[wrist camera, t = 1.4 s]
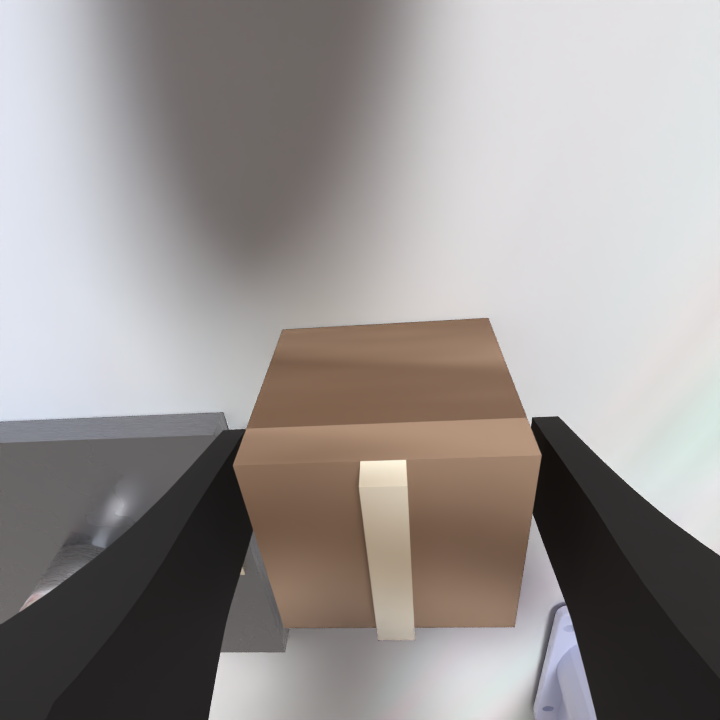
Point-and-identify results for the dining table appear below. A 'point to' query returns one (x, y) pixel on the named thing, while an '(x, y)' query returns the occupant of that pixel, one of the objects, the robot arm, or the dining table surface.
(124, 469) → the hub plate
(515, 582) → the taped cardboard box
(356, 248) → the dining table surface
